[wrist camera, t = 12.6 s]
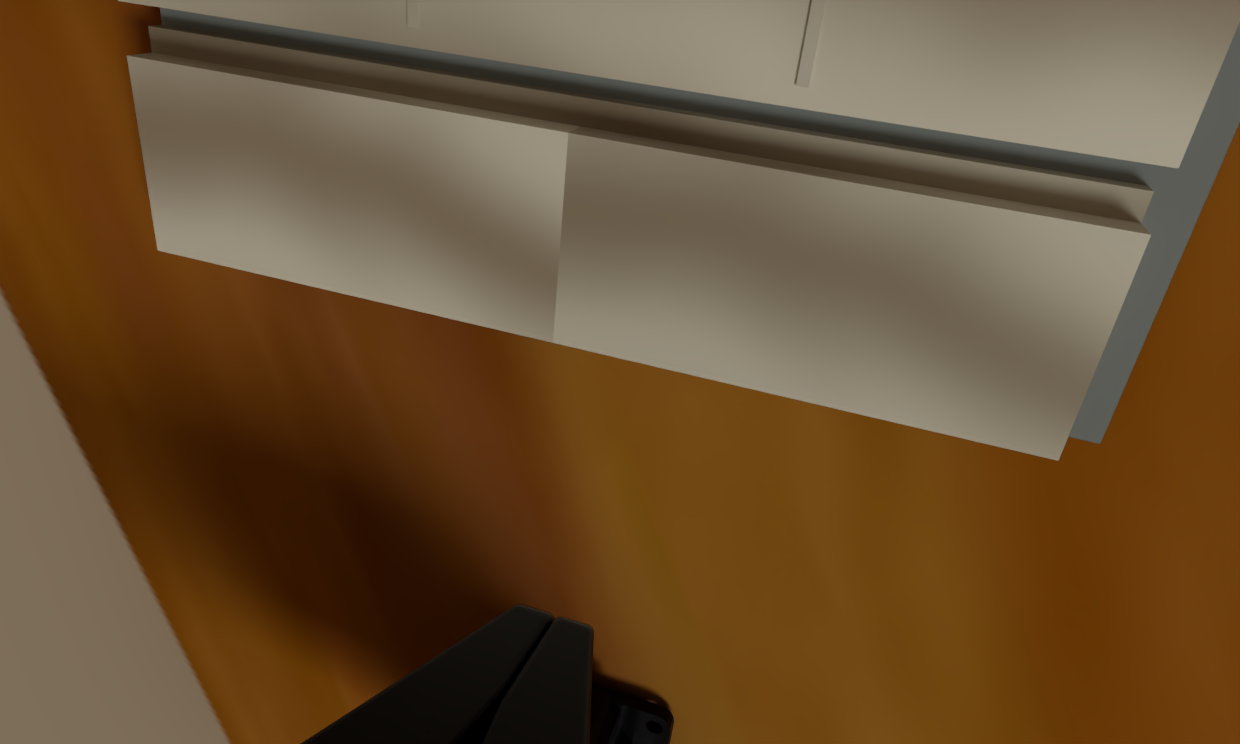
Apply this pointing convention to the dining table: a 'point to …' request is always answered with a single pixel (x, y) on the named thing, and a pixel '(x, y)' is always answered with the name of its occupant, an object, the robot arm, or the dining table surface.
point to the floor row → (649, 231)
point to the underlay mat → (1165, 219)
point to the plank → (846, 56)
